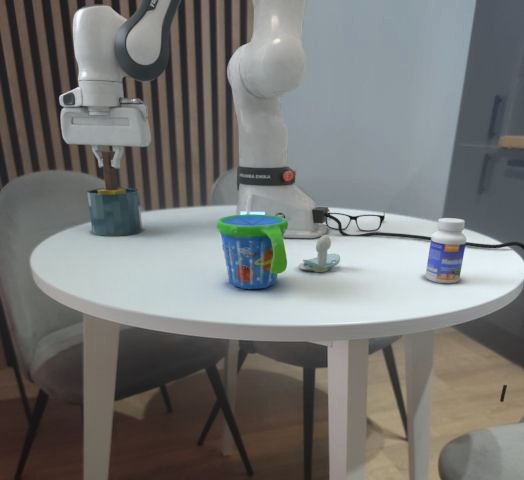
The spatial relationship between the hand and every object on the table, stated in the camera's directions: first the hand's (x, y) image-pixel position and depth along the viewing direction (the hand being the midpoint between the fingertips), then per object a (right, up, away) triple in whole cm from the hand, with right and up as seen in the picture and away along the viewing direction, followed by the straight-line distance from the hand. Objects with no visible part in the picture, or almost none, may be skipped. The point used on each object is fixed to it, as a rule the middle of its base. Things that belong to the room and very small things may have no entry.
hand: (109, 167), depth 110 cm
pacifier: (+44, -26, -22) cm, 55 cm away
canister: (0, -13, +6) cm, 14 cm away
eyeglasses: (+57, -9, +14) cm, 59 cm away
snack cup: (+32, -30, -30) cm, 53 cm away
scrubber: (0, -8, +4) cm, 9 cm away
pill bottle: (+64, -29, -27) cm, 75 cm away
